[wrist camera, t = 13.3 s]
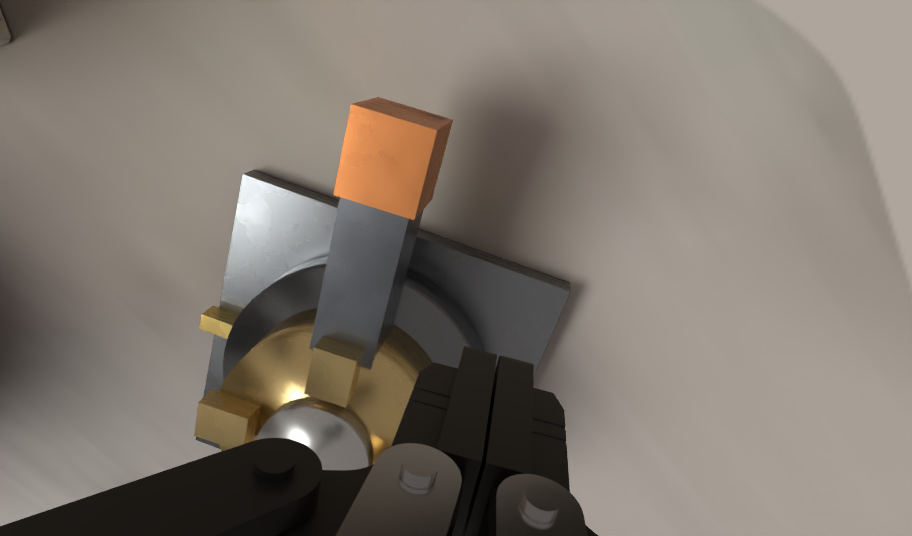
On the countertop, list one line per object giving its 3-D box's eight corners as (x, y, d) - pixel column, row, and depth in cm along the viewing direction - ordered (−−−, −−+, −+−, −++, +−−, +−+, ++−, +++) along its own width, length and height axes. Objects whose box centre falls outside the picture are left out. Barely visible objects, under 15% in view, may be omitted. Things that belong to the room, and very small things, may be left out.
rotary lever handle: (422, 512, 27) (401, 584, 24) (234, 449, 28) (185, 509, 24) (542, 146, 21) (539, 166, 17) (293, 70, 21) (238, 74, 18)
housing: (465, 525, 32) (440, 657, 25) (201, 426, 32) (104, 528, 25) (569, 282, 26) (574, 366, 19) (247, 167, 26) (139, 208, 20)
